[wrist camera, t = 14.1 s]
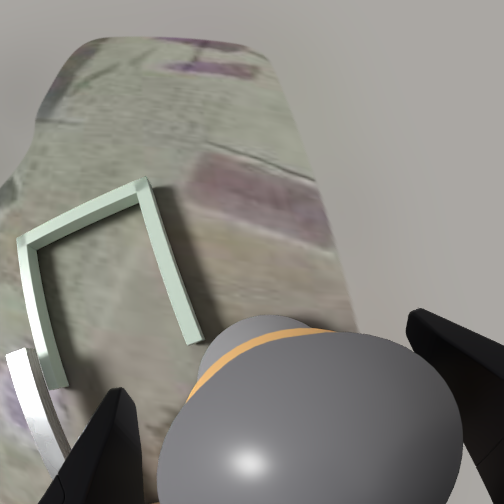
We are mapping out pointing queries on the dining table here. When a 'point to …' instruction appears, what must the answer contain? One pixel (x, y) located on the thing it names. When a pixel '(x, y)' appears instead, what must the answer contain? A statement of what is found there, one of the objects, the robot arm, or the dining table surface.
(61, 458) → the lever
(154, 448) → the dining table surface
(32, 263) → the pale green u-shaped bracket
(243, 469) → the plug
